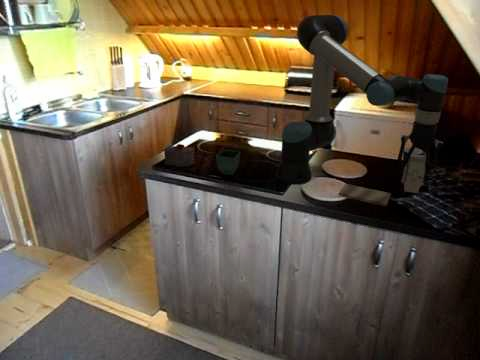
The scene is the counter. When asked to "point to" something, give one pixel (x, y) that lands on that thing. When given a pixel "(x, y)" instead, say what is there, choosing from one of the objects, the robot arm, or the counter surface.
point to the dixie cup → (416, 152)
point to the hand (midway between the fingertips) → (411, 183)
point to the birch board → (365, 194)
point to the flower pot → (228, 161)
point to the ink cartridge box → (414, 173)
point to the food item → (179, 156)
